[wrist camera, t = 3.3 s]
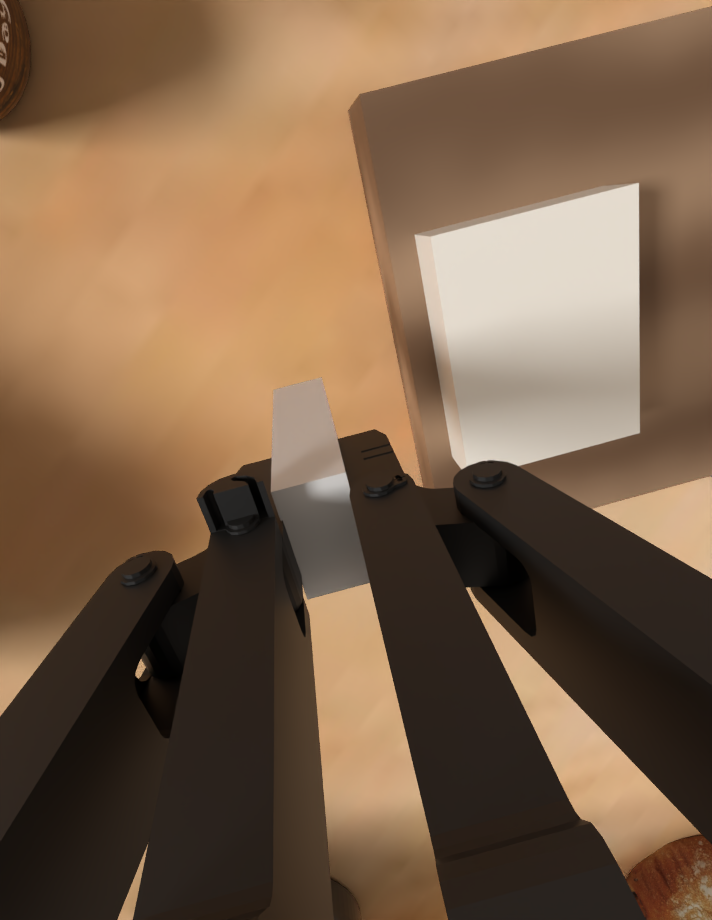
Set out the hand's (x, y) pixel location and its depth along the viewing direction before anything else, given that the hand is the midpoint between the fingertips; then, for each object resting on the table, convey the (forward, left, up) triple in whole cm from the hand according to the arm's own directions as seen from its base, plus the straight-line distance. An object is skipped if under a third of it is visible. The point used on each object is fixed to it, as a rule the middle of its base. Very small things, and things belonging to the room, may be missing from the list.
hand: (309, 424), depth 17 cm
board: (0, -11, -8) cm, 14 cm away
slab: (0, -9, -5) cm, 10 cm away
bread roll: (-49, -19, -8) cm, 53 cm away
